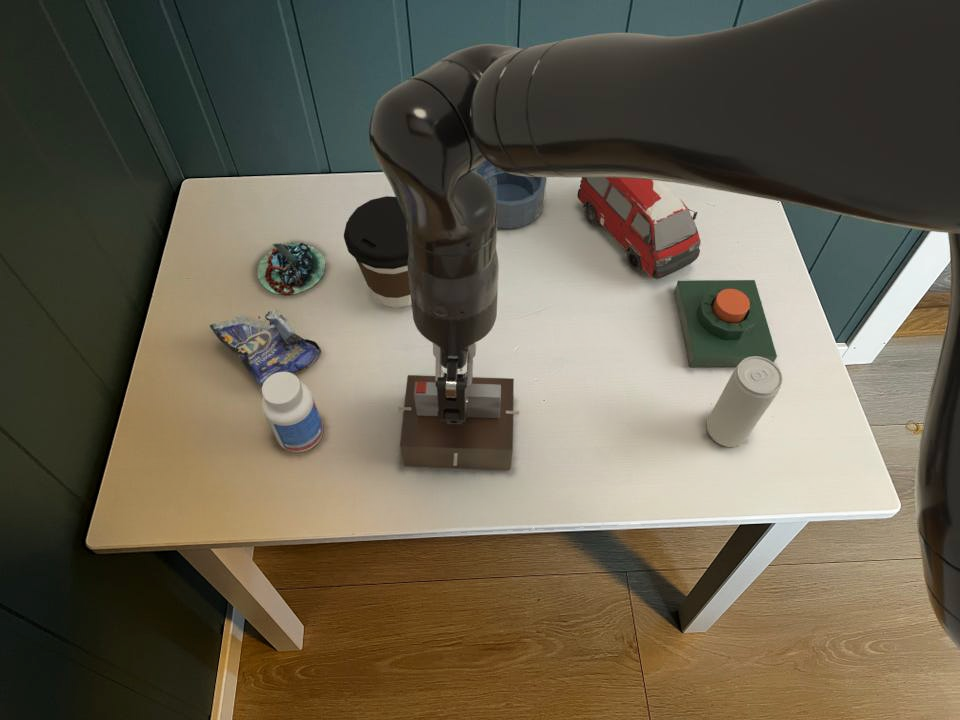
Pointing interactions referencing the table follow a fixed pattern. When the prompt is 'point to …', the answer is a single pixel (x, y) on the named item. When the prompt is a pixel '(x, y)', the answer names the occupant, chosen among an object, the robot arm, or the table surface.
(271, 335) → the snack package
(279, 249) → the dish
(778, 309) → the table surface
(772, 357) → the green button base
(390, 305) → the coffee cup
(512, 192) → the grey round pet bowl
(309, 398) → the pill bottle
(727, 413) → the beverage can
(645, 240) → the toy car
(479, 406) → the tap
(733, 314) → the button
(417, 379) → the base
